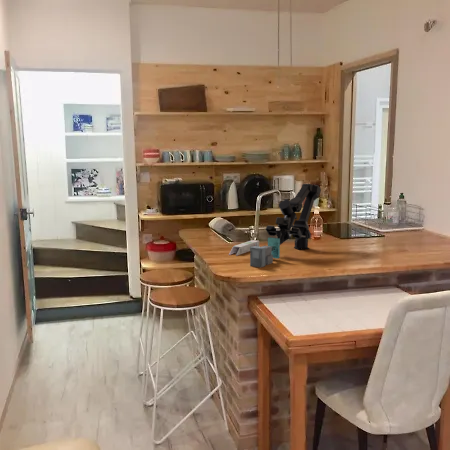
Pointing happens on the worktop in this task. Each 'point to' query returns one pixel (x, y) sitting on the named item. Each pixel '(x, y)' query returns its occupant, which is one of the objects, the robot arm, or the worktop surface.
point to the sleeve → (268, 255)
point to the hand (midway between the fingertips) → (278, 245)
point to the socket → (257, 256)
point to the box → (243, 247)
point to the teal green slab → (274, 246)
